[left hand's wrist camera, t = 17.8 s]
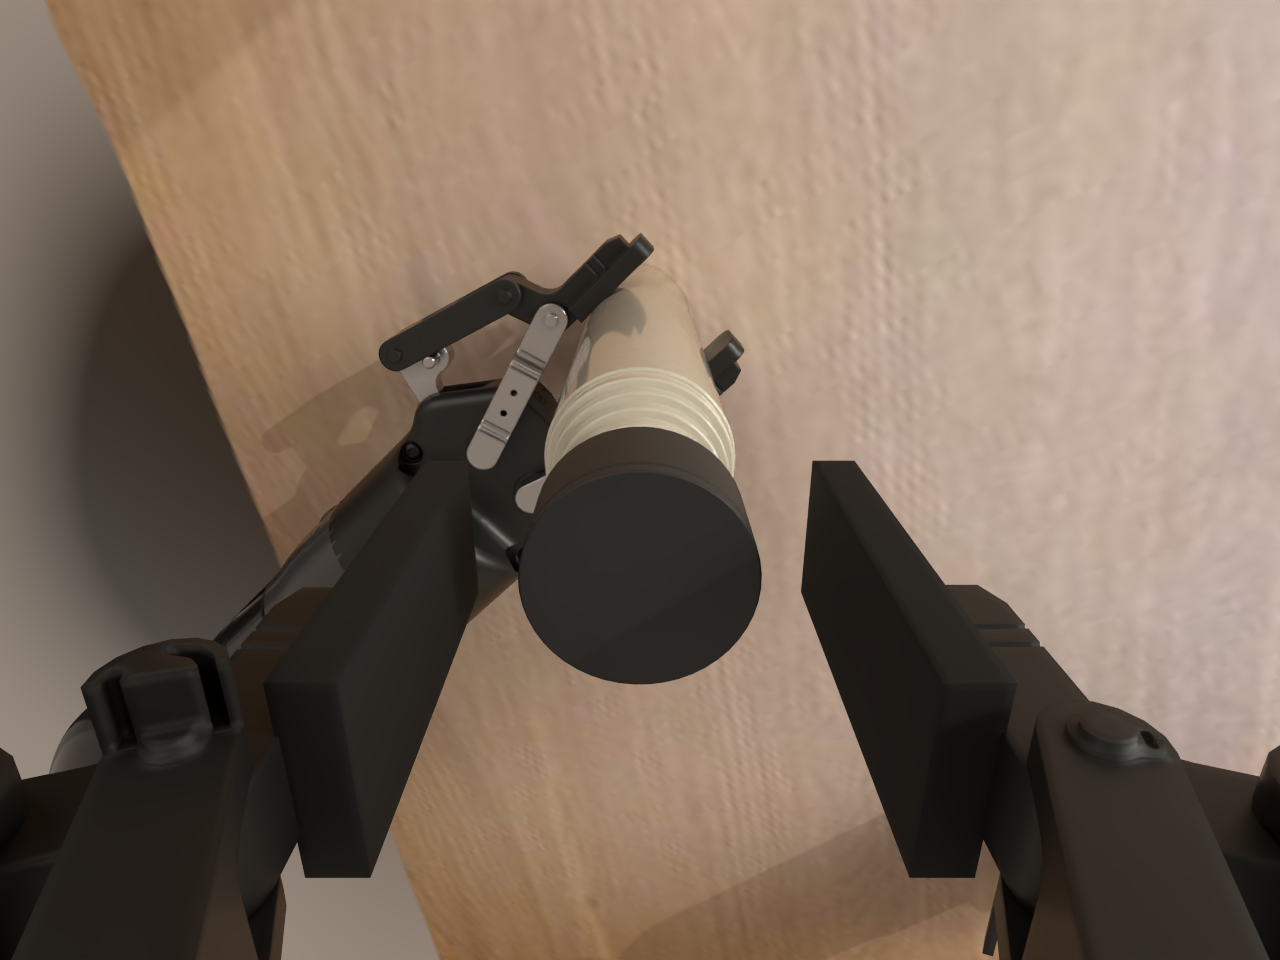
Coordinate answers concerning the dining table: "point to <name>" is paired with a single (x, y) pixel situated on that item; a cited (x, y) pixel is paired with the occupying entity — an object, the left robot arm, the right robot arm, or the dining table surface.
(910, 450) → the dining table surface
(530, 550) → the cap
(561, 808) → the dining table surface
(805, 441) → the dining table surface
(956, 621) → the left robot arm
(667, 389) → the bottle
